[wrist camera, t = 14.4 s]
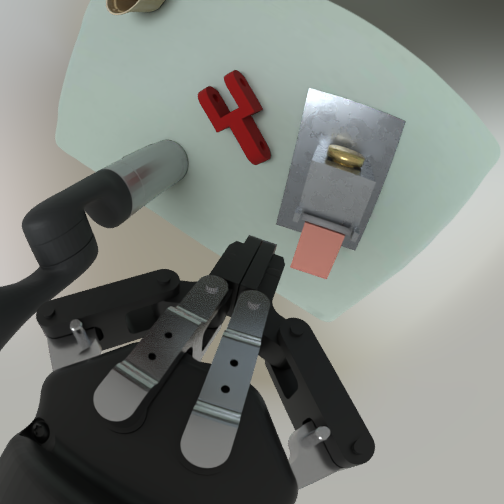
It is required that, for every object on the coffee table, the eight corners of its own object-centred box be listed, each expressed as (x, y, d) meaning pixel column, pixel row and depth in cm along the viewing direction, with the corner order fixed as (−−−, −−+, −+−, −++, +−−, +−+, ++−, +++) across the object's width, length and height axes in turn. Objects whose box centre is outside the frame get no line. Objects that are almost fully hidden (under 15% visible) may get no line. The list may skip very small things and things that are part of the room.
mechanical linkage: (207, 90, 42) (193, 92, 38) (240, 70, 38) (229, 69, 34) (250, 165, 48) (240, 174, 44) (285, 150, 44) (279, 157, 40)
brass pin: (306, 219, 48) (301, 235, 43) (329, 142, 39) (327, 149, 34) (336, 229, 47) (335, 246, 42) (363, 153, 38) (366, 163, 34)
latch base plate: (276, 223, 53) (259, 259, 43) (309, 88, 37) (298, 88, 27) (355, 249, 50) (354, 290, 41) (405, 120, 34) (425, 133, 25)
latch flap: (287, 262, 43) (286, 266, 42) (303, 211, 38) (302, 214, 37) (330, 277, 42) (330, 280, 41) (351, 227, 37) (351, 231, 36)
